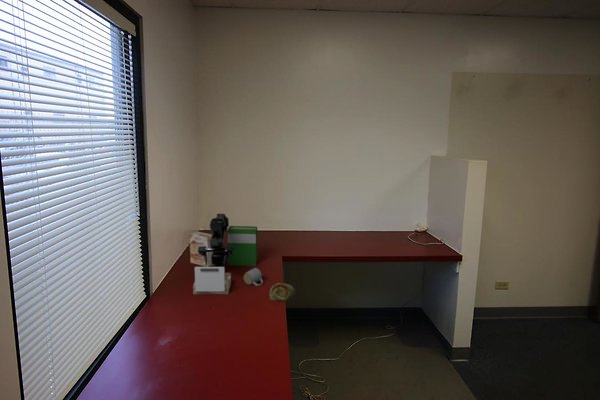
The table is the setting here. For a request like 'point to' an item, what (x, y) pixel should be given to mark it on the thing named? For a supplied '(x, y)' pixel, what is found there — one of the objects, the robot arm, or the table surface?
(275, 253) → the table surface
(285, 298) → the pastry
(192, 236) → the coffeecake box
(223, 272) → the panel
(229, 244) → the hardback book
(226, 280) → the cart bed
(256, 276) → the ceramic mug
